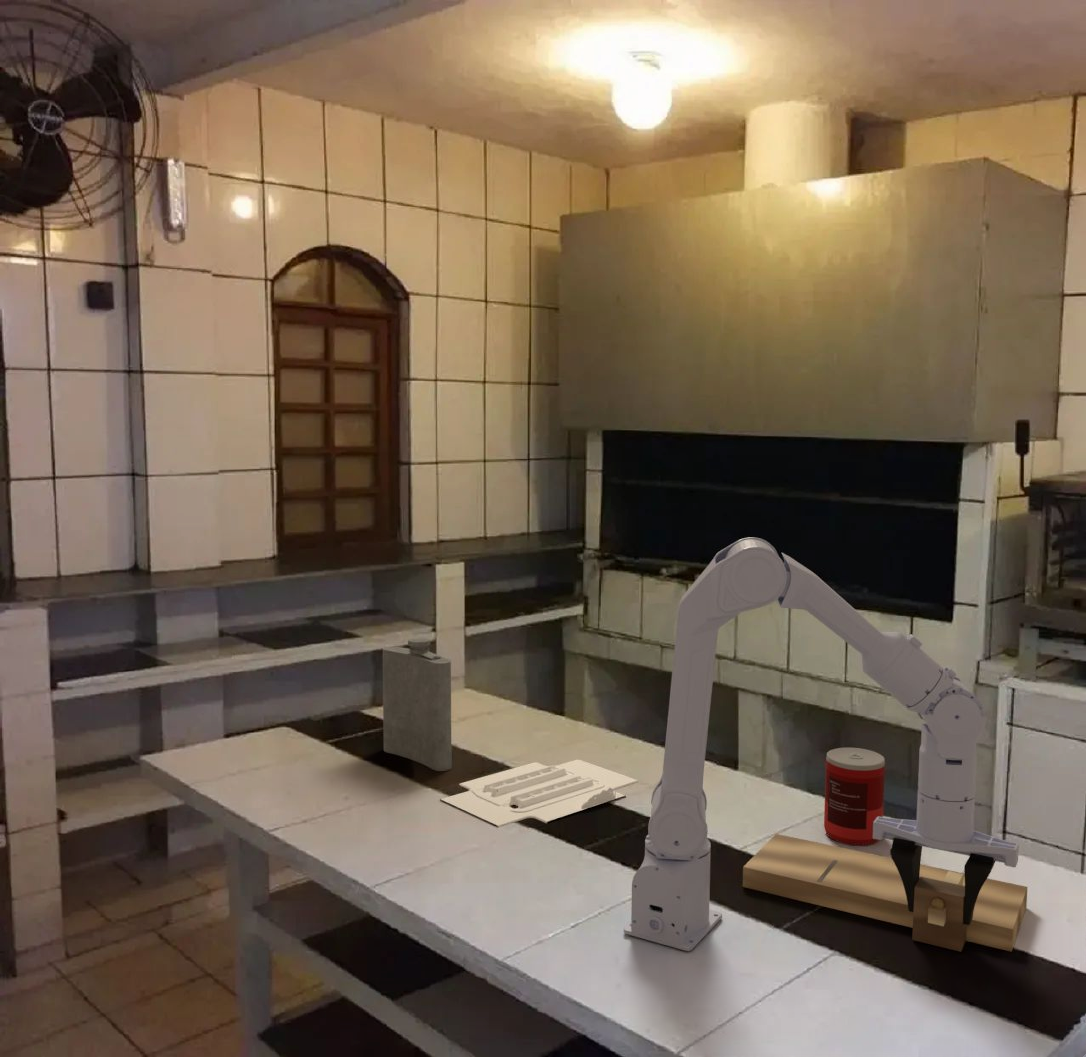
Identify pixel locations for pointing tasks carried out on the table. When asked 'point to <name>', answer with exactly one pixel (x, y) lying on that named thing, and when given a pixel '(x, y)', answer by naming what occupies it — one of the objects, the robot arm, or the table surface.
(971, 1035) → the table surface
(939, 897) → the brown block with bar
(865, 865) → the oak board
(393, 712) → the hip flask
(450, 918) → the table surface
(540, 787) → the tray
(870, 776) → the canned food
